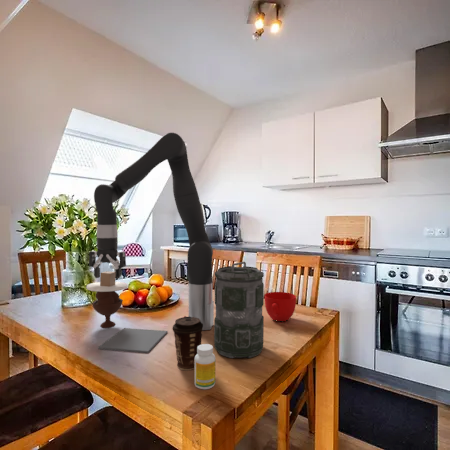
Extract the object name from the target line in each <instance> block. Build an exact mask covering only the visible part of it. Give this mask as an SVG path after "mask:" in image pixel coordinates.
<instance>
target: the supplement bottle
mask: <svg viewBox="0 0 450 450" xmlns="http://www.w3.org/2000/svg"><path fill="white" fill-rule="evenodd" d="M213 352H214V346H213V345H212V344H209V343H201V345H199V346H198V347H197V353H198V354H196V356H195V359H194V369H193V371H194V374H193V375H194V379H193V383H194V386H195V388H197V389H200V390H209V389H211V388H213V387H214V386H215V385H216V356H215V354H214V353H213Z"/></svg>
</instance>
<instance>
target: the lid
mask: <svg viewBox="0 0 450 450" xmlns="http://www.w3.org/2000/svg"><path fill="white" fill-rule="evenodd" d="M99 278H100V279H99V280H100V281H97V282H92V283H91V282H90V283H88V284H86V289H87V291H91V292H97V291H98V292H110V291H115V292H119V291H123V290H126V289H128V288H129V284H128V283H126V282H122V281H116V278H115V271H108V270H107V271H103V272H100V277H99Z"/></svg>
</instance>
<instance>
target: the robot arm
mask: <svg viewBox="0 0 450 450" xmlns="http://www.w3.org/2000/svg"><path fill="white" fill-rule="evenodd" d="M188 158H189V157H188V152H187V145H186V143H185V141H184V140H183V138H182V136H180V134H178V133H176V132H168V133H165V134H164V135H163V136H161V137H160V139H158V141H156V142H155V144H154V145H153V146H152V147H150V149H149V150H148V151H147V152H145V153H144V154H143V155H142V156H141V157H139V158H138V159H137V160H135V162H133V163H132V164H131V165H129V166H128V167H126V168H125V169H124V170H122V171H121V172H119V173H118V174H117V175H116V176H115V177H114V180H113V181H112V183H110V184H105V183H102V184H98V185H97V186H96V187H95V189H94V193H93V200H94V206H95V210H96V212H97V216H96V217H97V218H96V219H97V223H96V224H97V226H96V227H97V228H96V249H97V250H91V251H89V255H88V257H89V258H88V259H89V261H88V266H89V267H91V268H93V277H94V278H95V279H98V278H100V277H101V265H102V264H105V263H107V264H111V265H113V267H114V268H115V271H114V272H115V280H117V279H120V278H121V277H122V268H124V267H126V266H127V262H126V261H127V260H126V251H118V245H119V244H118V240H119V239H118V238H119V237H118V232H119V231H118V226H117V225H118V223H117V222H118V214H117V211H116V210H115V209H114V203H116V202H117V201H119V200H120V199H121V198H122V197H124V195H126V193H127V192H128V191H129V190H130V189H132V188H133V187H135V186H136V185H138V184H139V183H141V182H142V181H143V180H144V179H146V177H147V176H148V175H149V174H150V173H151V172H152V171H153V170H154V169H155V168H156V167H157V166H159V164H161V163H162V162H164V161H166V160H167V163H168V165H169V169H170V170H171V176H172V192H173V198H174V201H175V206H176V210H177V212H178V215H179V218H180V219H181V222H182V223H183V226H184V227H185V231H186V233H187V239H188V244H189V248H188V250H187V277H188V278H187V279H188V317H189V316H190V317H197V318H199V319H200V320H201V323H202V324H203V328H202V331H208V330H209V331H210V330H212V328H213V327H214V319H215V314H214V311H215V308H214V306H215V300H213V277H214V276H213V255H214V249H213V246H212V244H211V241H210V239H209V236H208V233H207V231H206V228H205V222H204V216H203V210H202V205H201V200H200V198H199V197H200V196H199V194H198V189H197V186H196V182H195V180H194V178H193V175H192V173H191V169H190V164H189V159H188ZM96 257H97V259H96ZM117 257H118V258H119V259H118V258H117Z"/></svg>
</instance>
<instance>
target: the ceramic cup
mask: <svg viewBox="0 0 450 450" xmlns="http://www.w3.org/2000/svg"><path fill="white" fill-rule="evenodd" d="M264 305H265V310H266V313H267V314H268V316H269V317H270V319H271V320H272V319H273V320H277V321H286V320H288V321H289V320H290V319H291V318H292V317H293V315H294V313H295V309H296V305H297V296H296V295H295V294H293V293H290V292H284V291H270V292H266V293H265V294H264ZM273 320H272V321H273ZM286 322H287V321H286Z"/></svg>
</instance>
